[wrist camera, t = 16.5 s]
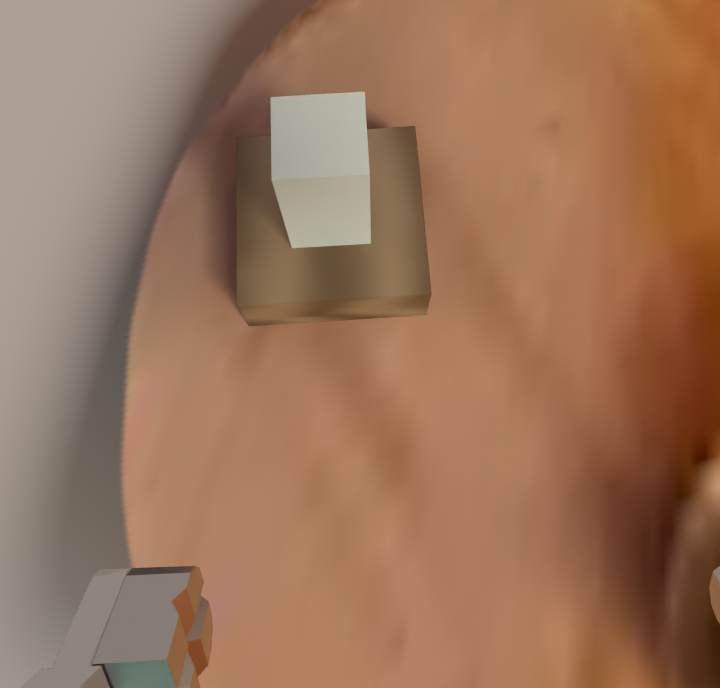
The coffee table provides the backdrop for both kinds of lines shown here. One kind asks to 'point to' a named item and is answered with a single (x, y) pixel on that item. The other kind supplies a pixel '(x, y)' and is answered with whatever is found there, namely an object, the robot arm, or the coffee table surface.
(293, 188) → the light grey block
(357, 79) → the coffee table surface
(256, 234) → the walnut plinth
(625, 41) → the coffee table surface
